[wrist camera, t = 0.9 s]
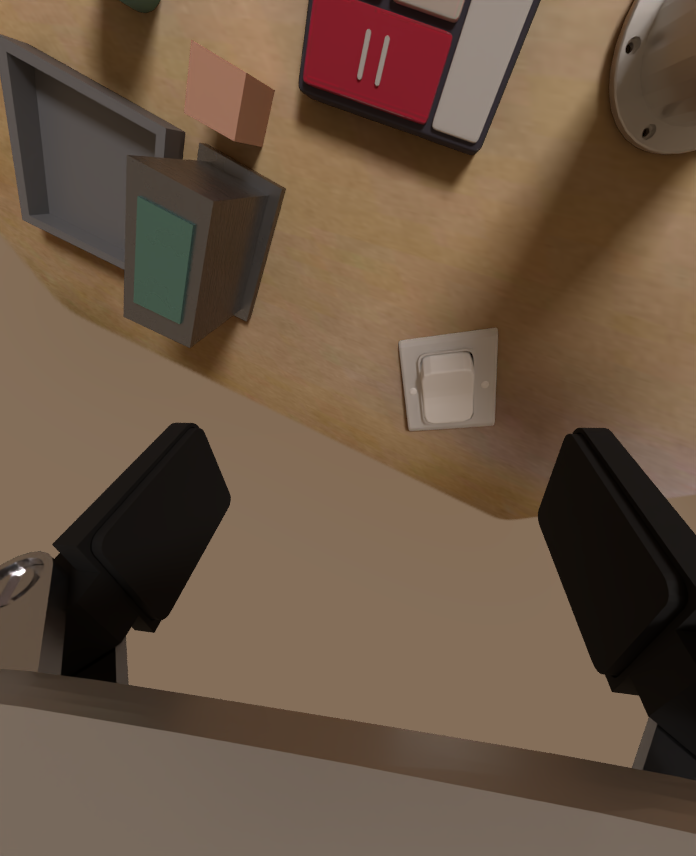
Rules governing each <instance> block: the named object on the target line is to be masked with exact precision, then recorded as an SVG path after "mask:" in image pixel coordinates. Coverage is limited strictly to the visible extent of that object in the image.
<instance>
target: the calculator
mask: <svg viewBox="0 0 696 856" xmlns="http://www.w3.org/2000/svg"><path fill="white" fill-rule="evenodd" d="M540 1H541V0H309V3H308V11H307V19H306V27H305V35H304V43H303V51H302V59H301V67H300V75H299V88H300V90H301V91H302V92H303V93H304V94H306V95H307V96H309V97H310V98H312V99H314V100H317V101H319V102H322V103H325V104H328V105H331V106H333V107H336V108H339V109H342V110H345V111H348V112H350V113H353V114H356V115H359V116H362V117H365V118H368V119H370V120H373V121H376V122H379V123H382V124H385V125H388V126H390V127H393V128H396V129H399V130H402V131H405V132H408V133H410V134H413V135H416V136H419V137H422V138H425V139H427V140H429V141H432V142H435V143H438V144H440V145H443V146H446V147H449V148H452V149H455V150H457V151H460V152H463V153H466V154H469V155H474V154H475V153H477V152H478V151H479V150H480V149H481V147H482V145H483V143H484V140H485V138H486V135H487V133H488V130H489V128H490V125H491V123H492V120H493V118H494V115H495V113H496V110H497V108H498V105H499V103H500V100H501V98H502V95H503V93H504V90H505V88H506V85H507V83H508V80H509V78H510V75H511V73H512V70H513V68H514V65H515V63H516V60H517V58H518V55H519V53H520V50H521V48H522V45H523V43H524V40H525V38H526V35H527V33H528V30H529V28H530V25H531V23H532V20H533V18H534V16H535V13H536V11H537V8H538V6H539V3H540Z"/></svg>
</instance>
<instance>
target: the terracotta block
mask: <svg viewBox="0 0 696 856" xmlns="http://www.w3.org/2000/svg"><path fill="white" fill-rule="evenodd" d="M274 92H275V90H273V89H272V88H270V87H268V86H267V85H265V84H264V83H262V82H260V81H259V80H257V79H256V78H254V77H252V76H251V75H249V74H248V73H246V72H244V71H243V70H241V69H239V68H238V67H236V66H234V65H233V64H231V63H229V62H228V61H226V60H224V59H223V58H221V57H219V56H218V55H216V54H214V53H213V52H211V51H209V50H208V49H206V48H204V47H203V46H201V45H199V44H198V43H196V42H194V41H193V40H191V48H190V59H189V69H188V79H187V89H186V99H185V109H184V113H185V114H187V115H189V116H191V117H192V118H194V119H196V120H198V121H199V122H201V123H203V124H205V125H206V126H208V127H210V128H212V129H213V130H215V131H217V132H219V133H220V134H222V135H224V136H226V137H227V138H229V139H231V140H233V141H235V142H240V143H245V144H250V145H255V146H259V147H262V146H263V142H264V137H265V133H266V128H267V124H268V119H269V114H270V110H271V105H272V101H273V96H274Z"/></svg>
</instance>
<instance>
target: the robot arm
mask: <svg viewBox="0 0 696 856" xmlns="http://www.w3.org/2000/svg"><path fill="white" fill-rule="evenodd" d="M627 44H628V45H630V51H629V53H628V54H627V53H626V45H627ZM609 96H610V105H611V111H612V114H613V117H614V120H615V123H616V126H617V127H618V129H619V130H620V132H621V133H622V135H623V136H624V138H625V139H626V140H628V141H629V142H630V143H631V144H633V145H634V146H635V147H637V148H639V149H642V150H644V151H647V152H649V153H656V154H665V155H666V154H680V153H685V152H690V151H695V150H696V0H634V2H633V4H632V6H631V8H630V10H629V12H628V14H627V16H626V18H625V21H624V23H623V26H622V29H621V32H620V35H619V37H618V40H617V43H616V46H615V51H614V55H613V60H612V64H611V69H610V82H609ZM644 129H646V134H645V135H644V136H643V137H642V132H643V130H644ZM230 498H231V497H230V493H229V491H228V488H227V486H226V484H225V481H224V478H223V476H222V474H221V471H220V469H219V466H218V464H217V462H216V459H215V457H214V454H213V452H212V449H211V447H210V445H209V442H208V440H207V437H206V435H205V433H204V431H203V430H202V429H200V428H199V427H198V426H197V425H196V424H194V423H173V424H171V425H170V426H169V427H168V428H167V429H166V430H165V431H164V432H163V433H162V434H161V435H160V436H159V437H158V438H157V439H156V440H155V441H154V442H153V443H152V444H151V445H150V446H149V447H148V448H147V449H146V450H145V451H144V452H143V453H142V454H141V455H140V456H139V457H138V458H137V459H136V460H135V461H134V462H133V463H132V464H131V465H130V466H129V467H128V468H127V469H126V470H125V471H124V472H123V473H122V474H121V475H120V476H119V477H118V478H117V479H116V480H115V481H114V482H113V483H112V484H111V485H110V486H109V488H107V490H105V492H104V493H102V494H101V496H100V497H98V499H97V500H96V501H95V502H94V503H93V504H92V505H91V506H90V507H89V508H88V509H87V510H86V511H85V512H84V513H83V514H82V515H81V516H80V517H79V518H78V519H77V520H76V521H75V522H74V523H73V524H72V525H71V526H70V527H69V528H68V529H67V530H66V531H65V532H64V533H63V534H62V535H61V536H60V537H59V538H58V539H57V540H56V541H55V542H54V543H53V546H54V547H55V548H56V549H57V550H58V551H59V552H60V554H59V555H58V556H57V557H56V558H55V559H53V558H52V557H51V556H50V555H49V554H48V553H45V552H41V551H38V552H30V553H27V554H23V555H20V556H17V557H15V558H13V559H11V560H10V561H7V562H5V563H3V564H2V565H0V856H696V535H695V534H694V532H693V531H692V530H691V529H690V527H689V526H688V525H687V524H686V523H685V521H684V520H683V519H682V518H681V516H680V515H679V514H678V513H677V511H676V510H675V509H674V508H673V507H672V506H671V504H670V503H669V502H668V500H667V499H666V498H665V497H664V496H663V494H662V493H661V492H660V491H659V489H658V488H657V487H656V486H655V485H654V483H653V482H652V481H651V480H650V478H649V477H648V476H647V475H646V474H645V472H644V471H643V470H642V469H641V467H640V466H639V465H638V464H637V463H636V461H635V460H634V459H633V458H632V456H631V455H630V454H629V453H628V452H627V450H626V449H625V448H624V447H623V445H622V444H621V443H620V442H619V441H618V439H617V438H616V437H615V436H614V434H613V433H612V432H611V431H610V430H609V429H606V428H577V429H576V430H575V431H574V432H573V434H567V435H566V436H565V438H564V441H563V443H562V446H561V449H560V452H559V455H558V457H557V460H556V463H555V466H554V468H553V471H552V474H551V477H550V480H549V482H548V485H547V488H546V491H545V494H544V496H543V499H542V502H541V505H540V508H539V511H538V521H539V525H540V528H541V530H542V533H543V535H544V538H545V541H546V543H547V546H548V548H549V551H550V554H551V556H552V559H553V561H554V564H555V567H556V569H557V572H558V574H559V577H560V580H561V582H562V585H563V587H564V590H565V592H566V595H567V598H568V600H569V603H570V605H571V608H572V611H573V613H574V616H575V618H576V621H577V624H578V626H579V629H580V631H581V634H582V636H583V639H584V642H585V644H586V647H587V650H588V652H589V655H590V657H591V660H592V662H593V664H594V667H595V668H596V669H597V671H598V672H599V673H600V674H605V676H606V678H607V681H608V683H609V686H610V688H611V691H612V692H616V693H624V694H631V695H639V696H640V698H641V701H642V703H643V706H644V708H645V710H646V712H647V714H648V716H649V718H648V722H647V725H646V727H645V731H644V733H643V736H642V739H641V742H640V745H639V748H638V751H637V754H636V757H635V760H634V763H633V766H632V768H628V767H622V766H617V765H612V764H606V763H601V762H596V761H590V760H585V759H579V758H574V757H568V756H563V755H558V754H552V753H546V752H540V751H534V750H527V749H522V748H516V747H509V746H503V745H497V744H491V743H485V742H479V741H473V740H467V739H461V738H455V737H449V736H443V735H437V734H430V733H425V732H419V731H413V730H407V729H401V728H395V727H388V726H383V725H377V724H370V723H364V722H358V721H352V720H346V719H339V718H333V717H327V716H321V715H315V714H308V713H302V712H296V711H290V710H284V709H277V708H271V707H265V706H258V705H252V704H246V703H240V702H234V701H227V700H221V699H215V698H208V697H202V696H195V695H189V694H183V693H176V692H170V691H164V690H157V689H151V688H144V687H138V686H132V685H129V684H128V666H127V648H126V635H127V633H128V631H129V630H130V628H131V627H132V628H133V629H134V630H138V631H146V632H153V633H154V632H155V631H156V629H157V627H158V625H159V623H160V621H161V620H163V619H165V618H166V617H167V616H168V615H169V613H170V612H171V610H172V608H173V607H174V605H175V603H176V601H177V599H178V598H179V596H180V594H181V592H182V590H183V589H184V587H185V585H186V583H187V581H188V580H189V578H190V576H191V574H192V572H193V570H194V569H195V567H196V565H197V563H198V562H199V560H200V558H201V556H202V554H203V553H204V551H205V549H206V547H207V545H208V543H209V542H210V540H211V538H212V536H213V534H214V533H215V531H216V529H217V527H218V526H219V524H220V522H221V520H222V518H223V516H224V515H225V513H226V511H227V509H228V508H229V505H230V500H231V499H230Z"/></svg>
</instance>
